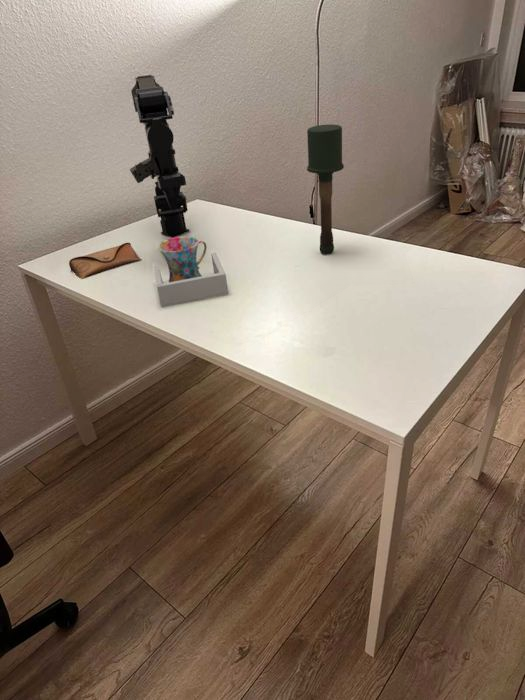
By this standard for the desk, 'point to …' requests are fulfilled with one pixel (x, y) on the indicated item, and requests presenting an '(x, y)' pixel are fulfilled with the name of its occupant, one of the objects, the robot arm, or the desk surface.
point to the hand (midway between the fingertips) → (173, 210)
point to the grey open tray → (192, 286)
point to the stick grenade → (325, 173)
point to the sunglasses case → (103, 260)
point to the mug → (181, 257)
